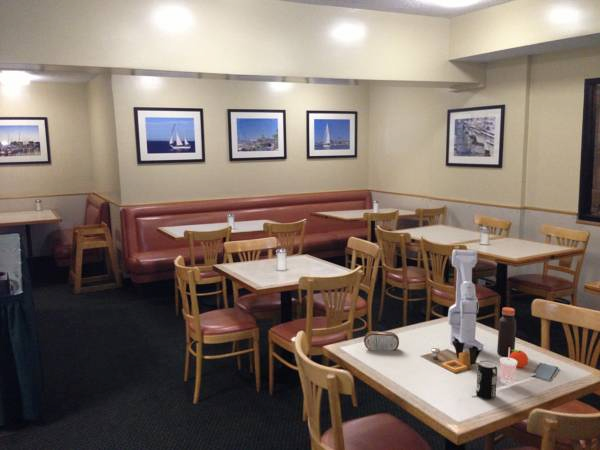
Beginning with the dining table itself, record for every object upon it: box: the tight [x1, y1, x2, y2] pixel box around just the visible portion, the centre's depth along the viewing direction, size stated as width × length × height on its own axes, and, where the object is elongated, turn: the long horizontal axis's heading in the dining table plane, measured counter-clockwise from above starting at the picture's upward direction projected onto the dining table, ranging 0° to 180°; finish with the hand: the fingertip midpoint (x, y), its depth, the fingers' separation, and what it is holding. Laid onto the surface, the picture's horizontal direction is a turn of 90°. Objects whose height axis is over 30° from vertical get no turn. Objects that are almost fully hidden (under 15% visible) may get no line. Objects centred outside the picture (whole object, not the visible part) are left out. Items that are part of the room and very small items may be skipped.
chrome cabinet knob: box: [430, 347, 441, 360], centre depth 216 cm, size 3×3×4 cm
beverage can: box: [475, 360, 499, 400], centre depth 184 cm, size 7×7×12 cm
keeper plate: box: [419, 348, 479, 375], centre depth 214 cm, size 16×20×1 cm
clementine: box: [509, 349, 529, 369], centre depth 210 cm, size 8×7×7 cm
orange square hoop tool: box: [441, 350, 471, 374], centre depth 208 cm, size 12×7×5 cm, turn 120°
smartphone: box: [530, 362, 560, 382], centre depth 205 cm, size 7×1×15 cm
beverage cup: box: [499, 347, 517, 387], centre depth 194 cm, size 6×6×14 cm
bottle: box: [496, 306, 517, 357], centre depth 222 cm, size 7×7×20 cm
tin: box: [363, 330, 400, 351], centre depth 225 cm, size 15×3×8 cm, turn 84°
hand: (466, 361), depth 210 cm, fingers open, 6 cm apart
